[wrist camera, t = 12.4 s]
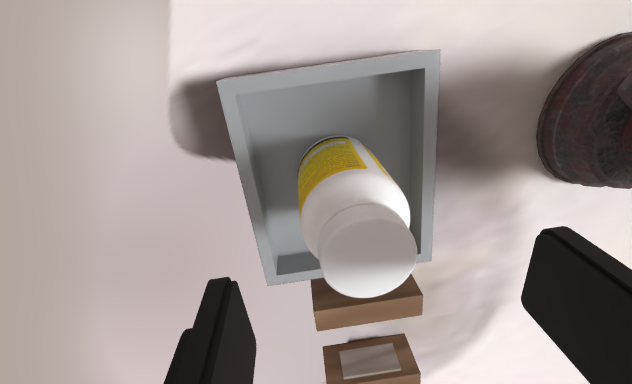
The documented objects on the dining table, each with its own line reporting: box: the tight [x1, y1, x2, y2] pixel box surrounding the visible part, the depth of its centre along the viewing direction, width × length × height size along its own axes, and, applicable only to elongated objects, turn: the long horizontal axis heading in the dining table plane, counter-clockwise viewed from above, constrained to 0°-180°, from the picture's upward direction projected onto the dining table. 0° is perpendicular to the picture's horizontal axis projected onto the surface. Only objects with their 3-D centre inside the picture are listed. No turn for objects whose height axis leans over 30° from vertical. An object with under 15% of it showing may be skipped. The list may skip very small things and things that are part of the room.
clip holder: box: [311, 274, 423, 384], centre depth 26 cm, size 11×8×4 cm
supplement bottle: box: [297, 135, 417, 298], centre depth 16 cm, size 5×5×10 cm
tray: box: [216, 50, 440, 286], centre depth 20 cm, size 14×12×3 cm
